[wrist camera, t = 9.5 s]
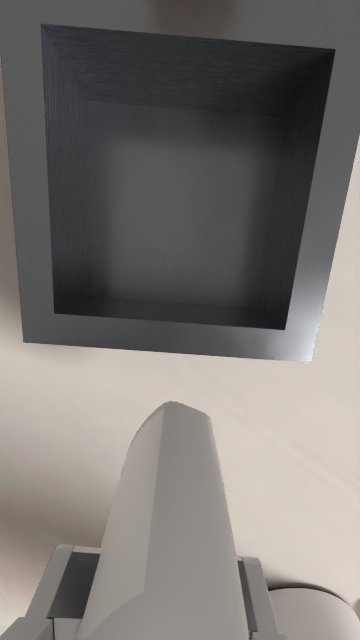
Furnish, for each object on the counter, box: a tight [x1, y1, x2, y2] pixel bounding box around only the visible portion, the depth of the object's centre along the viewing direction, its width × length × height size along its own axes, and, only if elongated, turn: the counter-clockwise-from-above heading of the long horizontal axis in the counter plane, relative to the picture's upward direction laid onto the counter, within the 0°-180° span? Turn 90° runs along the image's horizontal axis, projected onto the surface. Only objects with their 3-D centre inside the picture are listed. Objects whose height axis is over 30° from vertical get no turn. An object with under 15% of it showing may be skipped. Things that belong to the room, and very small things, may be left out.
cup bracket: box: [0, 0, 360, 363], centre depth 11 cm, size 15×11×13 cm
